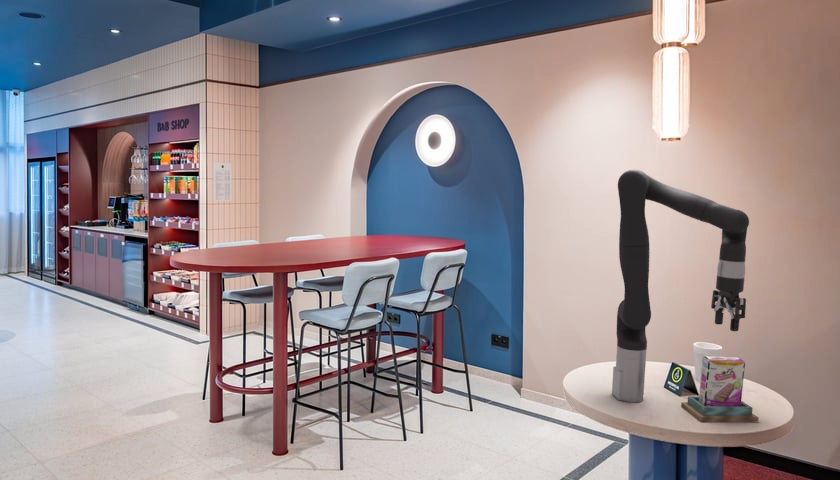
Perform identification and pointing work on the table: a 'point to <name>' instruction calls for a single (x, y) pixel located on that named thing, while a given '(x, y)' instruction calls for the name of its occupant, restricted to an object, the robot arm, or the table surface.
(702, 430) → the table surface
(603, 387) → the table surface
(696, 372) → the foam cup
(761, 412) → the table surface
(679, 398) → the table surface
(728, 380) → the candy bar box
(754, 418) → the display base
